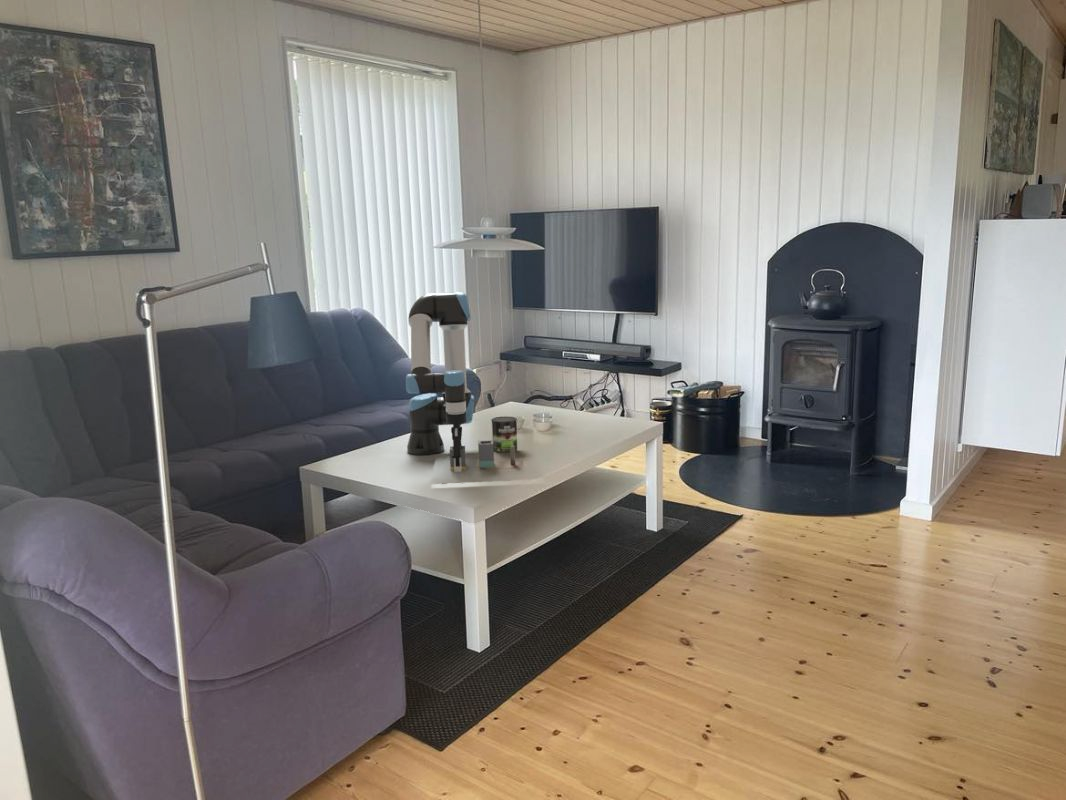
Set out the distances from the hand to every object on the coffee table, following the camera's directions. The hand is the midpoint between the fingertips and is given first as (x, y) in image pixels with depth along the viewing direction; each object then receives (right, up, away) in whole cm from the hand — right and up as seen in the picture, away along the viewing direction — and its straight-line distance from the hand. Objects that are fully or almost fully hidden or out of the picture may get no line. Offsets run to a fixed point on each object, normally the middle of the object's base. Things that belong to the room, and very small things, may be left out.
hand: (458, 470), depth 307 cm
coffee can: (+17, +5, +25) cm, 31 cm away
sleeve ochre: (0, 0, 0) cm, 0 cm away
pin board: (+15, +1, +2) cm, 16 cm away
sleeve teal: (+10, +2, +1) cm, 11 cm away
